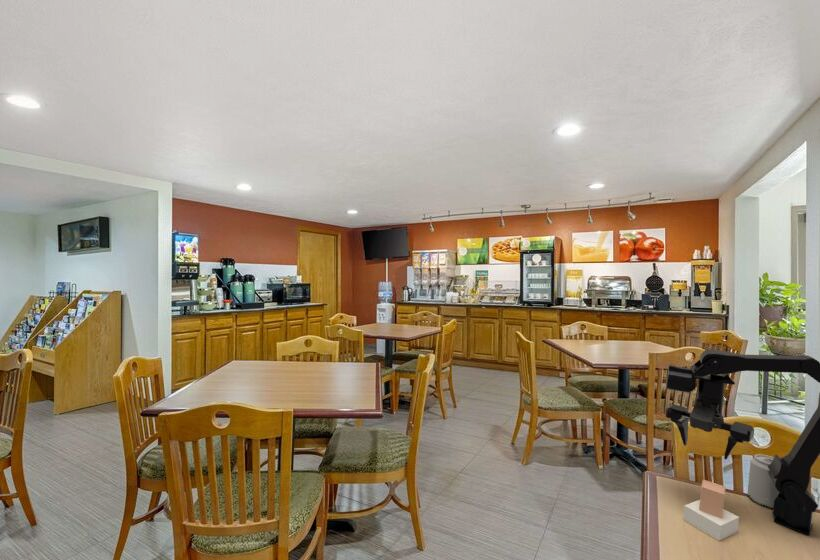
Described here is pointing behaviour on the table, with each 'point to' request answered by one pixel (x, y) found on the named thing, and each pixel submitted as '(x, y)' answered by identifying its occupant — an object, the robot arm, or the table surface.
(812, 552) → the table surface
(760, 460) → the can
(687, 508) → the white rectangular box
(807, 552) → the table surface
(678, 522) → the table surface
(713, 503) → the block
